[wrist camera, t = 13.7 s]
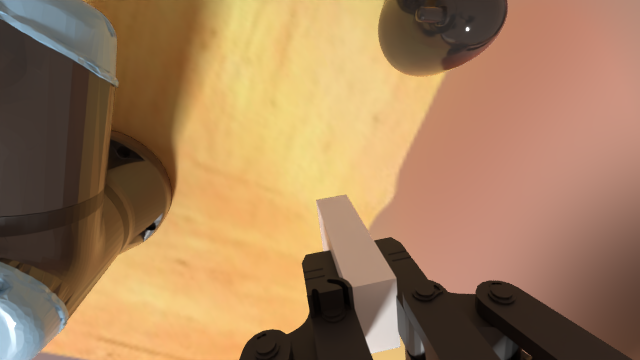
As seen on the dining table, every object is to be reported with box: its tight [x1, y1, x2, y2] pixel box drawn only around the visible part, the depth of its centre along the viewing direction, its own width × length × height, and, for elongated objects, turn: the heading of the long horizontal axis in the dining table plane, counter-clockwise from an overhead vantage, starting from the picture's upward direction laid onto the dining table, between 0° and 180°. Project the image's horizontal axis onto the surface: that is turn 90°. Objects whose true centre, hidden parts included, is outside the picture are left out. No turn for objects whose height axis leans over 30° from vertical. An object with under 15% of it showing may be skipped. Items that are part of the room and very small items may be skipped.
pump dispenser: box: [378, 0, 508, 77], centre depth 32 cm, size 10×10×15 cm
